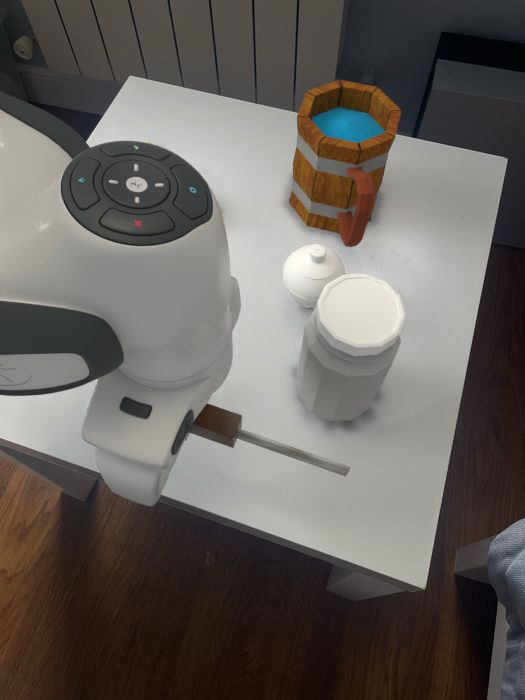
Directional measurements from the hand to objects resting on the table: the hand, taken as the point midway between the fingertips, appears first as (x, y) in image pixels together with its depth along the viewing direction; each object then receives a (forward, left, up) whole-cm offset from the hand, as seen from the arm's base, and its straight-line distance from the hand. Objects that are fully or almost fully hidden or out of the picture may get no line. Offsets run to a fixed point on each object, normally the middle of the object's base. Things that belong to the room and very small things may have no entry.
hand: (188, 414), depth 52 cm
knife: (+3, -4, -2) cm, 5 cm away
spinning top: (+23, +8, -12) cm, 27 cm away
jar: (+18, -3, -12) cm, 22 cm away
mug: (+37, +18, -12) cm, 43 cm away
